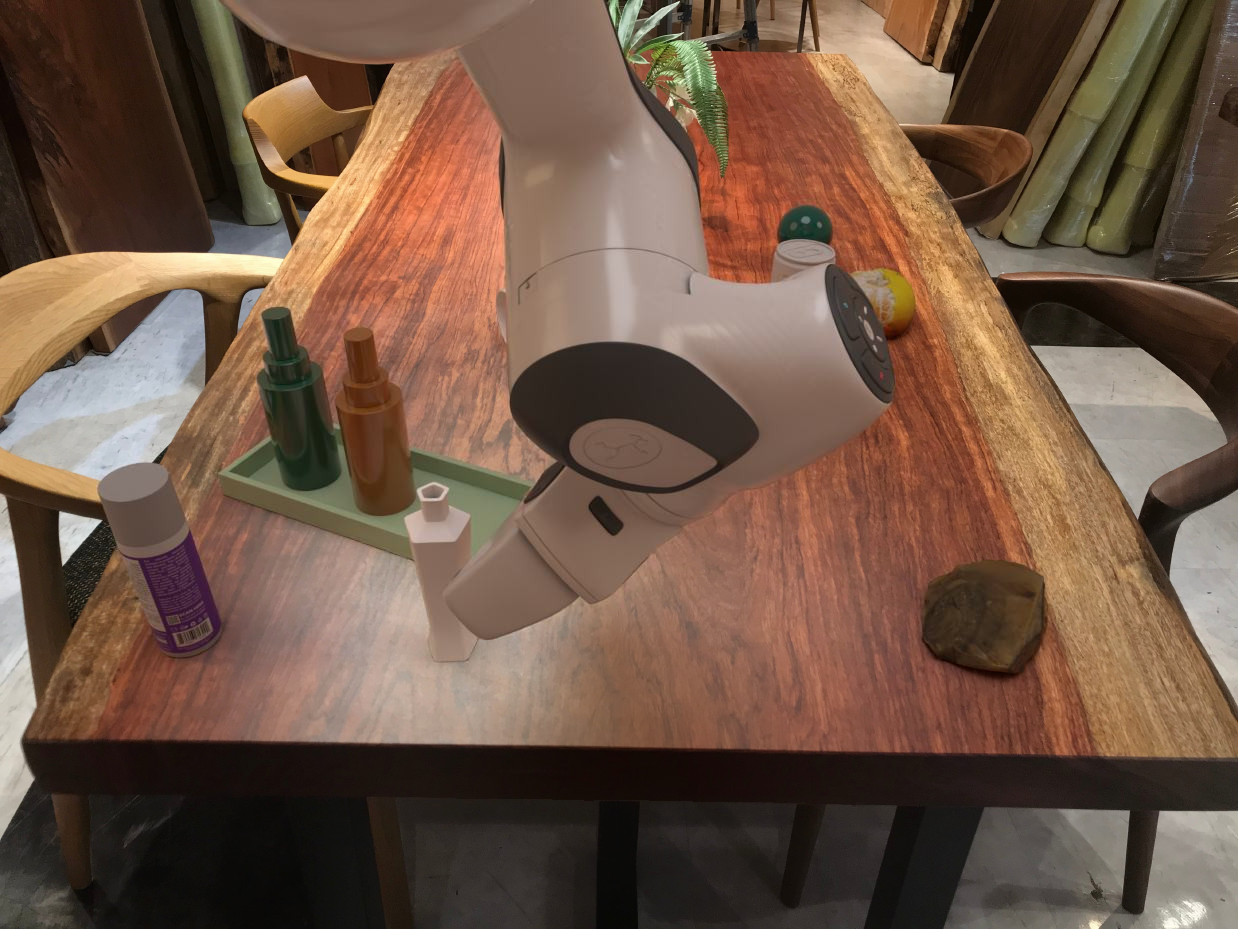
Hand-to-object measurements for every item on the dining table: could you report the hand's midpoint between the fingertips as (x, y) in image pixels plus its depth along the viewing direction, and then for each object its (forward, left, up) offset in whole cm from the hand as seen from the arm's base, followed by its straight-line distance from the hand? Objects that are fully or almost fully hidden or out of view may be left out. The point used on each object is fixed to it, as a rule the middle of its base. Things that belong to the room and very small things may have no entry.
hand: (497, 544), depth 60 cm
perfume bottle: (0, +5, -13) cm, 14 cm away
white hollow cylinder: (+47, +22, -13) cm, 53 cm away
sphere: (+86, 0, -13) cm, 87 cm away
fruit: (+70, -13, -13) cm, 72 cm away
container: (-7, +24, -13) cm, 28 cm away
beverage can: (+53, -7, -13) cm, 55 cm away
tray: (+13, +20, -13) cm, 27 cm away
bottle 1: (+13, +29, -12) cm, 34 cm away
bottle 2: (+13, +20, -12) cm, 27 cm away
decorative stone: (+20, -32, -13) cm, 40 cm away
